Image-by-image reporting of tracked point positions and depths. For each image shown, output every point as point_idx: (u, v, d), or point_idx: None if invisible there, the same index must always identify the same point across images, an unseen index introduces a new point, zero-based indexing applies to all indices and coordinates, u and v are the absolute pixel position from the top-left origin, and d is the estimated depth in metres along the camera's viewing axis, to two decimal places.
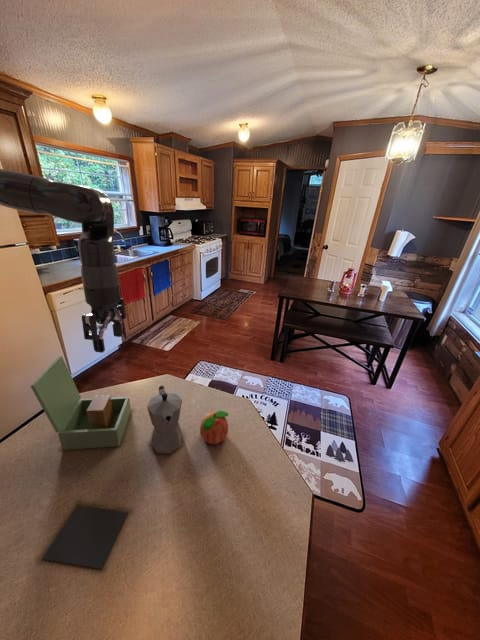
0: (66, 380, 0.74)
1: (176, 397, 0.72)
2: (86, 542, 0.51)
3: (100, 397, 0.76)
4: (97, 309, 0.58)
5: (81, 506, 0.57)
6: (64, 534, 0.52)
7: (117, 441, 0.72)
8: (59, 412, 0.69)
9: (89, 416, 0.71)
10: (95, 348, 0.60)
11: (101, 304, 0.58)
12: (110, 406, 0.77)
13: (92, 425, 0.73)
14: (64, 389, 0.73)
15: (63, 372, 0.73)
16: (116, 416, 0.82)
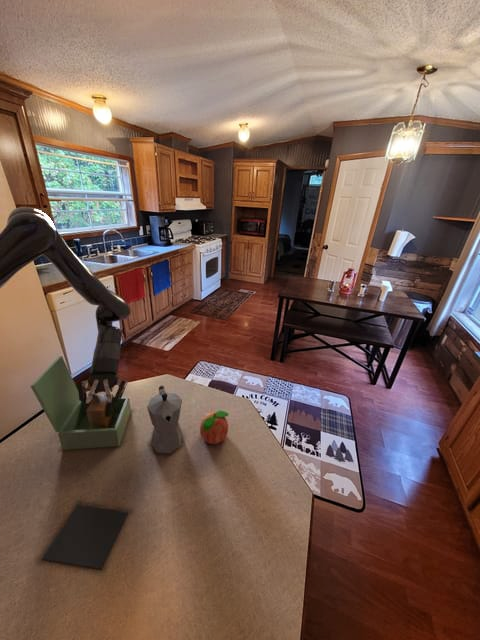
0: (66, 380, 0.74)
1: (176, 397, 0.72)
2: (86, 542, 0.51)
3: (100, 397, 0.76)
4: (117, 376, 0.79)
5: (81, 506, 0.57)
6: (64, 534, 0.52)
7: (117, 441, 0.72)
8: (59, 412, 0.69)
9: (88, 416, 0.71)
10: (111, 411, 0.74)
11: None
12: None
13: (92, 425, 0.73)
14: (64, 389, 0.73)
15: (63, 372, 0.73)
16: (116, 416, 0.82)
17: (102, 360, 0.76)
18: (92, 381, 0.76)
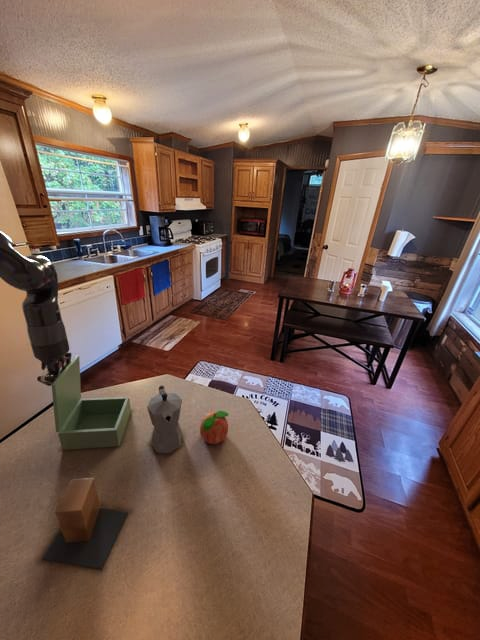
0: (76, 380, 0.74)
1: (176, 397, 0.72)
2: (86, 542, 0.51)
3: (79, 482, 0.52)
4: (48, 363, 0.63)
5: None
6: None
7: (117, 441, 0.72)
8: (64, 412, 0.69)
9: (60, 519, 0.48)
10: None
11: (51, 358, 0.63)
12: (94, 493, 0.54)
13: (66, 529, 0.49)
14: (72, 389, 0.73)
15: (76, 372, 0.74)
16: (116, 416, 0.82)
17: None
18: None
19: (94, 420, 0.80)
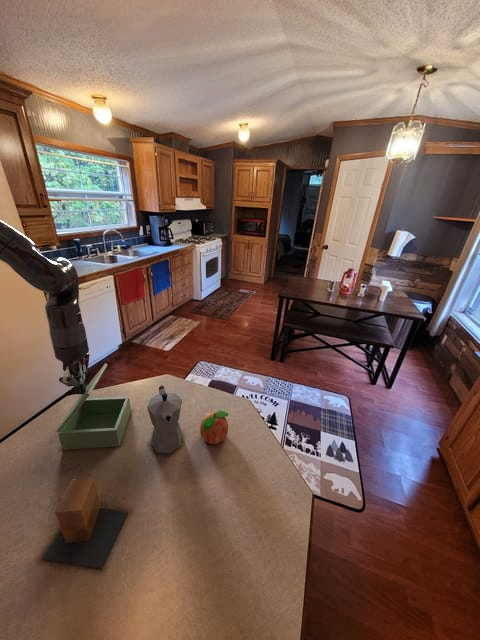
0: None
1: (176, 397, 0.72)
2: (86, 542, 0.51)
3: (79, 482, 0.52)
4: (69, 364, 0.64)
5: None
6: None
7: (117, 441, 0.72)
8: None
9: (60, 519, 0.48)
10: (76, 392, 0.70)
11: (72, 359, 0.64)
12: (94, 493, 0.54)
13: (66, 529, 0.49)
14: None
15: None
16: (116, 416, 0.82)
17: None
18: None
19: (94, 420, 0.80)
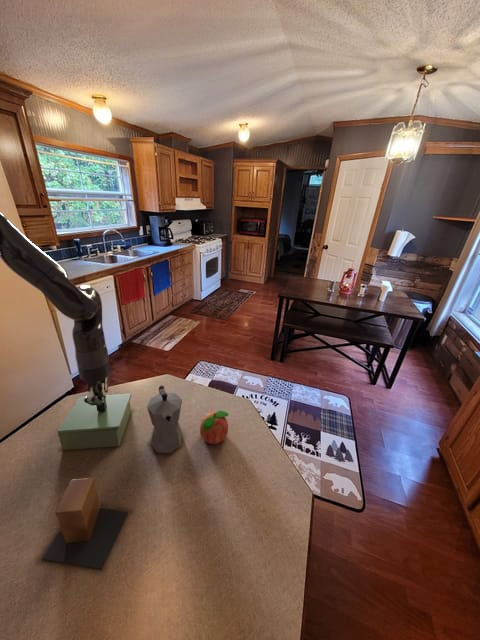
0: None
1: (176, 397, 0.72)
2: (86, 542, 0.51)
3: (79, 482, 0.52)
4: (93, 385, 0.67)
5: None
6: None
7: (117, 441, 0.72)
8: None
9: (60, 519, 0.48)
10: (98, 409, 0.73)
11: (96, 380, 0.67)
12: (94, 493, 0.54)
13: (66, 529, 0.49)
14: None
15: None
16: None
17: None
18: None
19: None
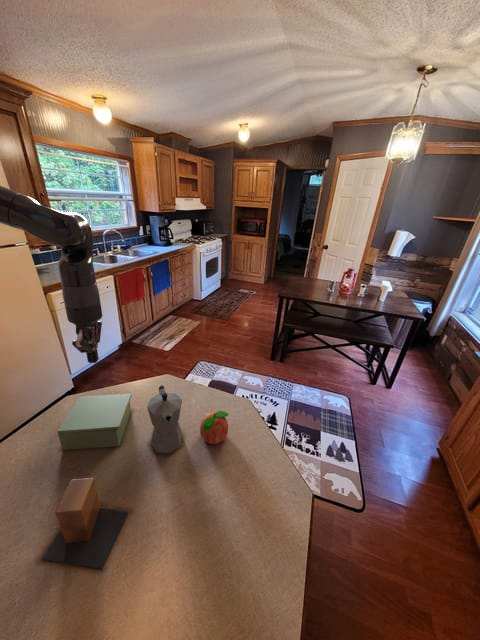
0: None
1: (176, 397, 0.72)
2: (86, 542, 0.51)
3: (79, 482, 0.52)
4: (82, 327, 0.60)
5: None
6: None
7: (117, 441, 0.72)
8: None
9: (60, 519, 0.48)
10: (89, 359, 0.67)
11: (86, 322, 0.60)
12: (94, 493, 0.54)
13: (66, 529, 0.49)
14: None
15: None
16: None
17: None
18: None
19: None
